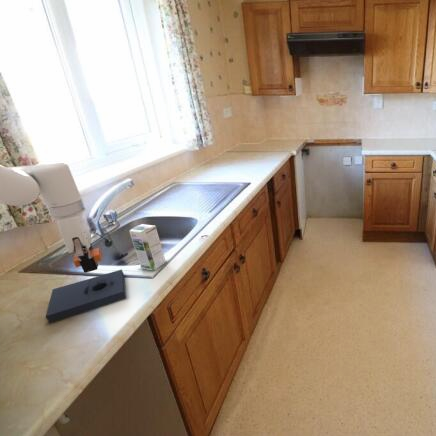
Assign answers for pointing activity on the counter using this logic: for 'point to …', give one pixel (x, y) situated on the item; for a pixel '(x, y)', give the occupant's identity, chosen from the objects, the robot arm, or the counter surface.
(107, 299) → the base pad
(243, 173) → the counter surface
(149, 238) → the syrup box
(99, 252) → the top pad
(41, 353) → the counter surface
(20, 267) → the counter surface
